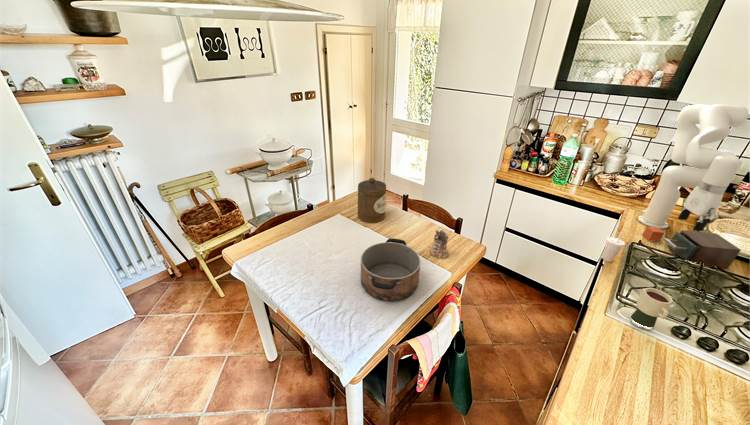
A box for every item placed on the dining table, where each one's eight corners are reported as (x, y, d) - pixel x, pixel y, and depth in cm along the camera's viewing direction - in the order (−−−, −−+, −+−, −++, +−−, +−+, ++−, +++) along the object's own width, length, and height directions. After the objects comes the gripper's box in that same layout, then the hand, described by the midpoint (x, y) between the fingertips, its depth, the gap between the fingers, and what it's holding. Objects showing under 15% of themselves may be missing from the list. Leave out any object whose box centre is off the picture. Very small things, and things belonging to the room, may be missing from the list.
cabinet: (690, 264, 131) (702, 246, 126) (670, 247, 142) (681, 230, 137) (727, 268, 129) (741, 249, 124) (704, 251, 140) (716, 233, 135)
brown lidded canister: (382, 224, 156) (383, 185, 146) (354, 221, 159) (353, 182, 149) (387, 211, 169) (389, 174, 158) (362, 208, 172) (361, 171, 161)
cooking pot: (412, 315, 104) (415, 291, 99) (350, 303, 108) (349, 280, 103) (421, 262, 130) (424, 241, 124) (371, 254, 134) (371, 233, 129)
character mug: (663, 338, 97) (684, 309, 91) (640, 336, 98) (659, 307, 91) (640, 312, 107) (657, 284, 101) (619, 310, 107) (635, 282, 101)
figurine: (447, 259, 132) (450, 236, 126) (430, 257, 133) (433, 234, 127) (446, 250, 138) (450, 227, 132) (431, 248, 139) (433, 225, 133)
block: (642, 234, 152) (646, 226, 149) (653, 235, 151) (658, 227, 149) (648, 240, 147) (653, 231, 145) (660, 241, 147) (664, 232, 144)
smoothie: (618, 264, 130) (632, 237, 124) (602, 262, 131) (615, 235, 125) (611, 255, 136) (624, 229, 129) (596, 254, 137) (608, 227, 130)
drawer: (672, 260, 132) (681, 245, 128) (655, 245, 142) (663, 230, 138) (718, 265, 130) (729, 250, 126) (698, 249, 140) (707, 235, 136)
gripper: (685, 178, 129) (666, 214, 137) (718, 195, 114) (694, 234, 122) (705, 179, 128) (684, 215, 136) (742, 197, 113) (716, 236, 121)
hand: (689, 224), depth 129 cm, fingers open, 8 cm apart
